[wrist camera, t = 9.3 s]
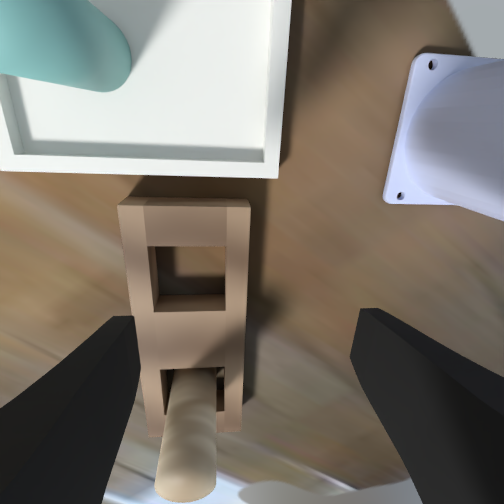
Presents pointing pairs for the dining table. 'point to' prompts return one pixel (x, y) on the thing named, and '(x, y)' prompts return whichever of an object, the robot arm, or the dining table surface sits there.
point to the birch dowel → (189, 437)
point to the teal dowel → (63, 44)
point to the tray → (163, 97)
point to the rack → (187, 299)
